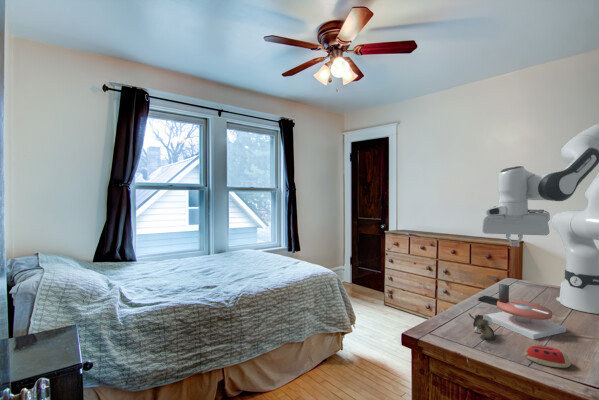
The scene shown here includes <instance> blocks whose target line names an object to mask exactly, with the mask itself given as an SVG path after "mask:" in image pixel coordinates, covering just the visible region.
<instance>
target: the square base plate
mask: <svg viewBox="0 0 599 400" xmlns="http://www.w3.org/2000/svg"><path fill="white" fill-rule="evenodd" d="M486 315H487V316H489V317H490V318H491V320H492V324H495V325H498V326H500V327H503V328H505V329H508V330H510V331H512V332H514V333H517V334H519V335H522V336H524V337H527V338H529V339H531V340H536V339H541V338H546V337H550V336H554V335H558V334H563V333H566V332H567V327H566V326H564V325H560V324H557V323H555V322H552V321H550V320H548V319H546V320H537V319H528V318H523V317H519V316H515V315H512V314H509V313H506V312H504V311H499V312H492V313H488V314H486Z"/></svg>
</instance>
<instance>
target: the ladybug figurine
mask: <svg viewBox="0 0 599 400" xmlns="http://www.w3.org/2000/svg"><path fill="white" fill-rule="evenodd" d="M524 355H525V357H526V358H527V359H528V360H530V361H532V362H533V363H536V364H538V365H541V366H546V367H552V368H559V369H560V368H561V369H564V368H569V367H571V365H572V364H571V361H570V358H569V356H568V355H567V354H566V353H565V352H563V350H560V349H559V348H555V347H552V346H546V345H533V346H529V348H527V350H526V351H525V352H524Z"/></svg>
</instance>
